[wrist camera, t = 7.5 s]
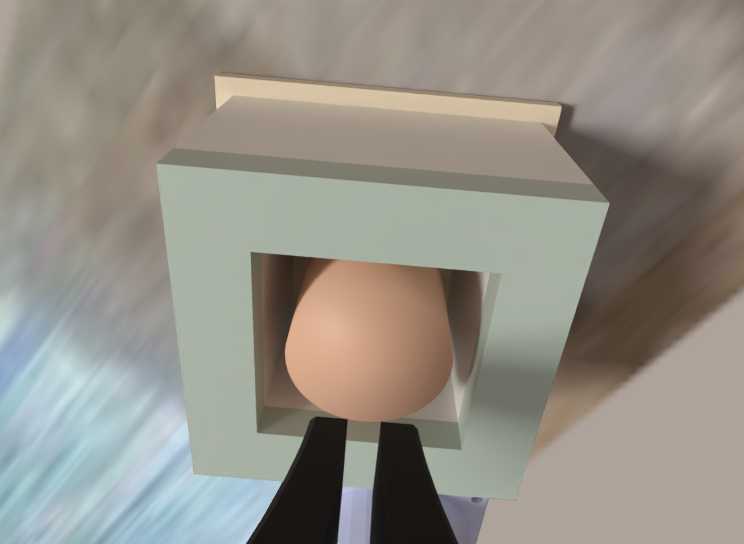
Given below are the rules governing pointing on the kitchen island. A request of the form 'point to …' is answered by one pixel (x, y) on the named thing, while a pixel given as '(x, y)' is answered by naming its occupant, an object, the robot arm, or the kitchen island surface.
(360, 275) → the peg
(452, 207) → the socket
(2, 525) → the kitchen island surface
